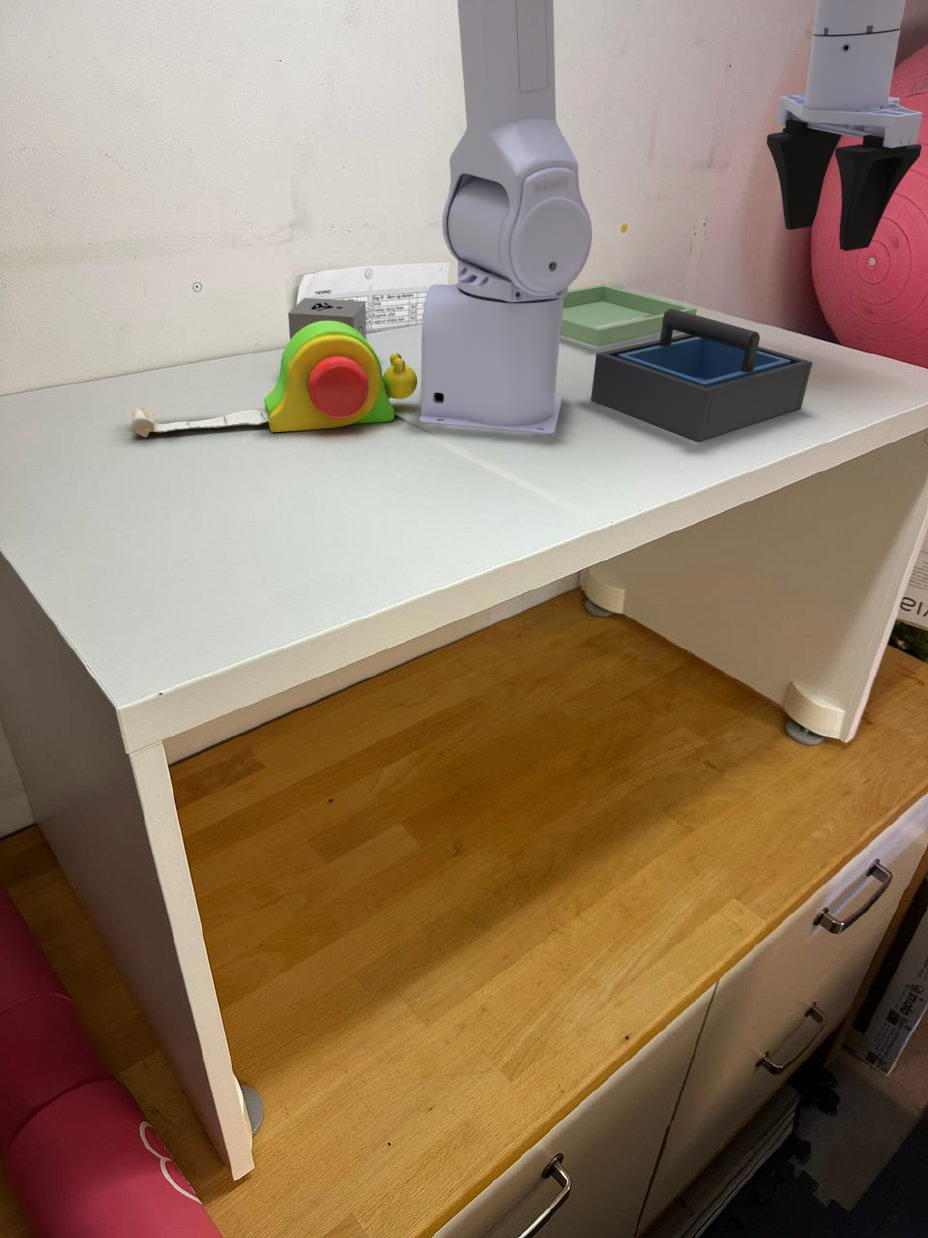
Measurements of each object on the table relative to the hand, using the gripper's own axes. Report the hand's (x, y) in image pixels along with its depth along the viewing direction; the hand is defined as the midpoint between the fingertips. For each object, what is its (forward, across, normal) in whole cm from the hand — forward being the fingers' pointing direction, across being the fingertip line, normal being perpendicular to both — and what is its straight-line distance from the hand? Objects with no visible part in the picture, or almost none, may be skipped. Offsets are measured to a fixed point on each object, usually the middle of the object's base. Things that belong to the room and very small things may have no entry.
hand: (825, 237), depth 70 cm
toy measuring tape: (+5, -5, +45) cm, 45 cm away
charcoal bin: (+9, -8, +14) cm, 18 cm away
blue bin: (+8, -8, +14) cm, 18 cm away
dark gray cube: (+6, +6, +40) cm, 41 cm away
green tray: (+10, +17, +12) cm, 23 cm away
